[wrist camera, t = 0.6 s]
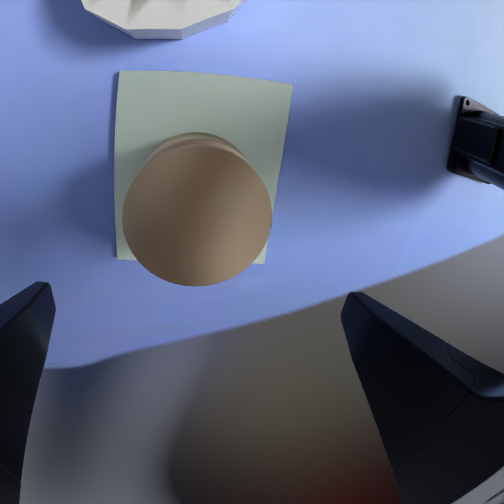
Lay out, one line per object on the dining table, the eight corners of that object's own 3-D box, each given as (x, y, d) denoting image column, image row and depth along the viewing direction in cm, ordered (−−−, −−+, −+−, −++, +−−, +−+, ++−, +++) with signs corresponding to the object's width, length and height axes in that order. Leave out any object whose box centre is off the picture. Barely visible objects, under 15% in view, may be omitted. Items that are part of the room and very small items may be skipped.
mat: (291, 84, 17) (293, 84, 17) (262, 261, 22) (264, 263, 22) (121, 71, 15) (119, 70, 14) (118, 256, 20) (117, 259, 20)
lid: (260, 137, 18) (283, 154, 14) (245, 243, 21) (260, 287, 17) (140, 129, 16) (122, 144, 12) (138, 239, 20) (126, 284, 15)
